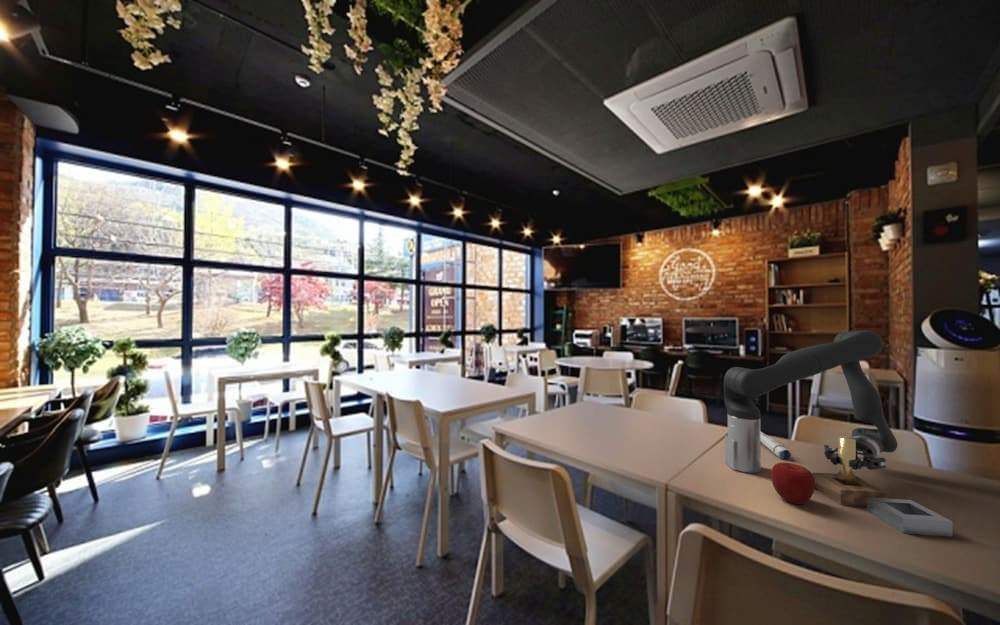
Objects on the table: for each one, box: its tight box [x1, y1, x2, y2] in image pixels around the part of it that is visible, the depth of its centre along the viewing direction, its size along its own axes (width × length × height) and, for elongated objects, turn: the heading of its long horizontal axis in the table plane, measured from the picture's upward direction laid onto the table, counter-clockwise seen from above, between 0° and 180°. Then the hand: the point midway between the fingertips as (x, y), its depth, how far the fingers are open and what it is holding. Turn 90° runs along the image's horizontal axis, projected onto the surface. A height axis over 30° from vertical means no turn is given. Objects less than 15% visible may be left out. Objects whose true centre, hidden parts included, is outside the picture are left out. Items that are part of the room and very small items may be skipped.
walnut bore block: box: [811, 471, 888, 507], centre depth 105 cm, size 11×11×4 cm
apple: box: [770, 462, 816, 505], centre depth 102 cm, size 10×10×10 cm
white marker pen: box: [760, 430, 792, 461], centre depth 143 cm, size 5×7×25 cm
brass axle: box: [837, 435, 857, 486], centre depth 105 cm, size 4×4×16 cm
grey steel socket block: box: [866, 497, 954, 538], centre depth 91 cm, size 10×10×4 cm
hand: (844, 463), depth 103 cm, fingers closed on brass axle, 3 cm apart
